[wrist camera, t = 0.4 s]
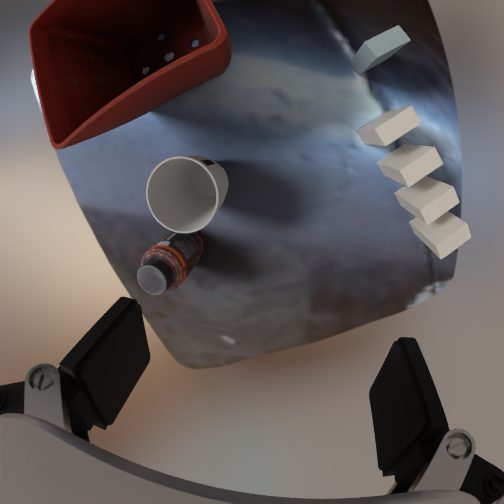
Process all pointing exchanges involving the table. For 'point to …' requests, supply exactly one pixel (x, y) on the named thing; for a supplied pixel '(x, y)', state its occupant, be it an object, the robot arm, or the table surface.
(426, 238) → the domino
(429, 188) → the domino
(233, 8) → the table surface
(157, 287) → the supplement bottle
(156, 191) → the cup
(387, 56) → the domino
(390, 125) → the domino
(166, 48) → the plant pot
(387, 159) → the domino
